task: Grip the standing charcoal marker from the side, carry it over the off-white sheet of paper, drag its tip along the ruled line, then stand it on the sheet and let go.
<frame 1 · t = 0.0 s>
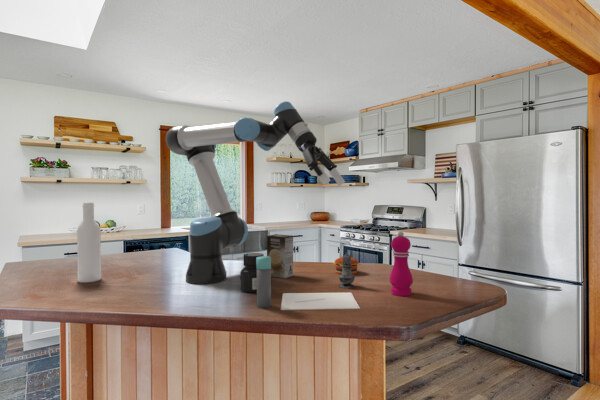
hand: (335, 183, 125), 36 cm above the countertop, tool tilted 35°, fingers open, 13 cm apart
hamburger: (346, 273, 146), on the countertop
bottle: (89, 280, 137), on the countertop
ink bottle: (253, 290, 121), on the countertop
coffee box: (280, 276, 142), on the countertop
paper: (318, 301, 107), on the countertop
chess piece: (346, 286, 124), on the countertop
pepper mill: (401, 294, 114), on the countertop
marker: (264, 305, 103), on the countertop
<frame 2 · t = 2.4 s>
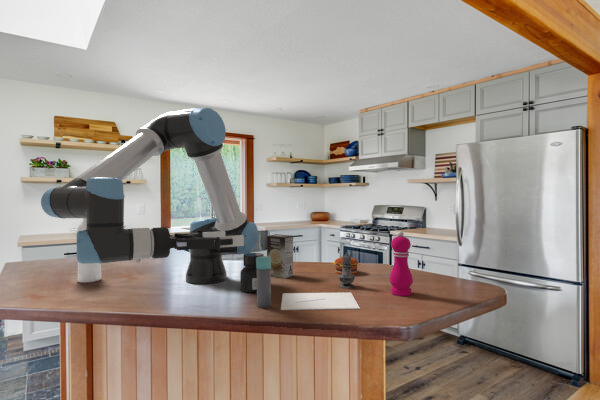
hand: (233, 238, 98), 20 cm above the countertop, tool horizontal, fingers open, 13 cm apart
nothing on the countertop moved.
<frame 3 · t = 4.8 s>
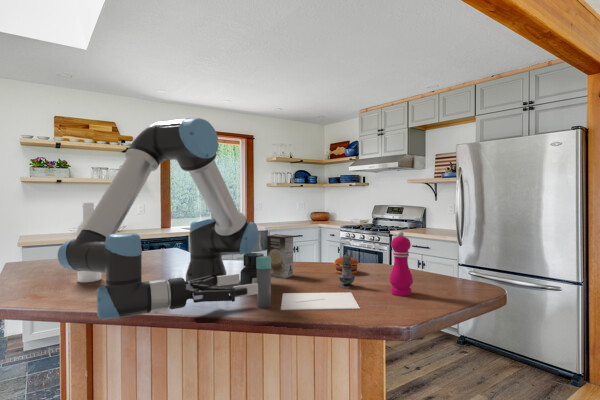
hand: (247, 283, 100), 7 cm above the countertop, tool horizontal, fingers open, 13 cm apart
nothing on the countertop moved.
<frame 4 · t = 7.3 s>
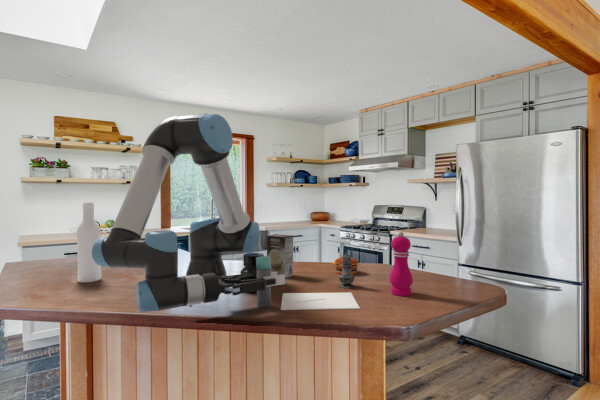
hand: (280, 277, 105), 8 cm above the countertop, tool horizontal, fingers closed on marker, 4 cm apart
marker: (264, 305, 103), on the countertop, touching gripper
everything else where it was.
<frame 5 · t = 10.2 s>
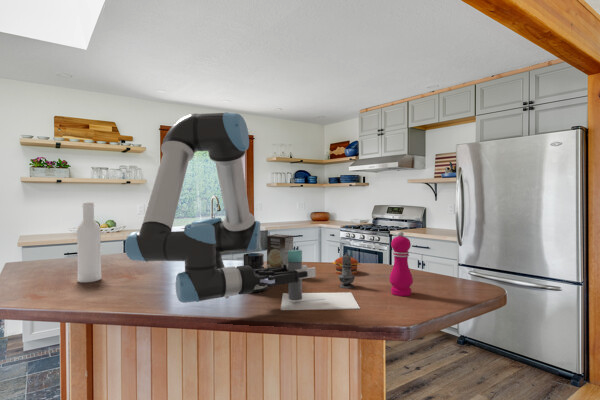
hand: (310, 270, 108), 9 cm above the countertop, tool horizontal, fingers closed on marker, 4 cm apart
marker: (295, 298, 105), point 2 cm above the countertop, touching gripper
everything else where it was.
when the fingers open (9 cm above the countertop, at t = 13.6 s): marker stays where it is, resting on paper.
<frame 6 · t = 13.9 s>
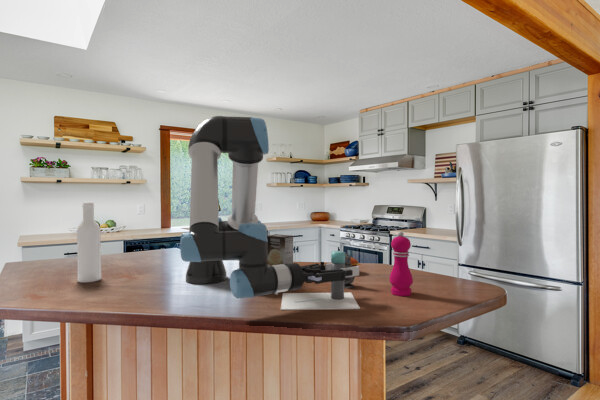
hand: (350, 268, 111), 9 cm above the countertop, tool horizontal, fingers open, 7 cm apart
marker: (337, 297, 109), resting on paper
everything else where it was.
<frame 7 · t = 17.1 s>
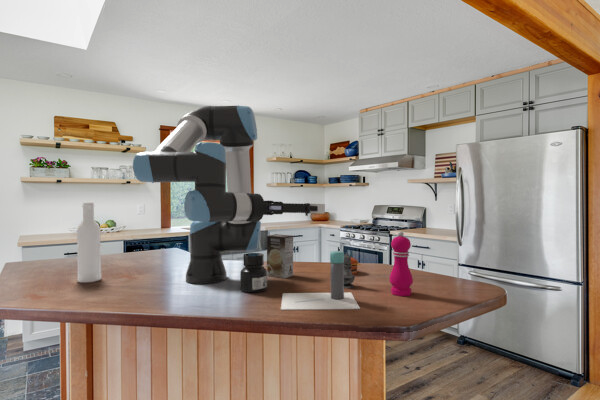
hand: (309, 208, 107), 28 cm above the countertop, tool horizontal, fingers open, 13 cm apart
nothing on the countertop moved.
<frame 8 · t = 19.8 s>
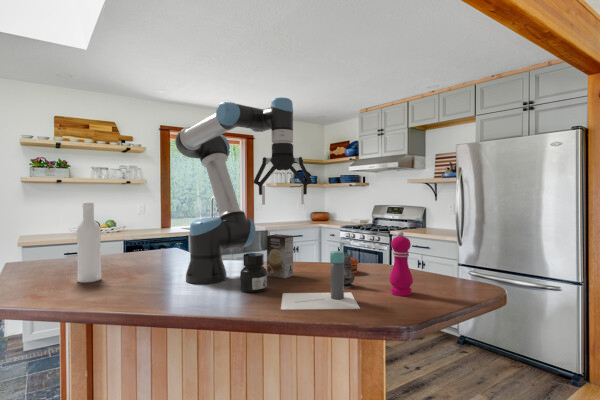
hand: (283, 204, 124), 29 cm above the countertop, tool pointing down, fingers open, 13 cm apart
nothing on the countertop moved.
at the end: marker inside the target area on the paper (6.2 cm from its centre), point 0.3 cm above the paper's base; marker tilted 0°; the gripper is holding nothing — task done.
